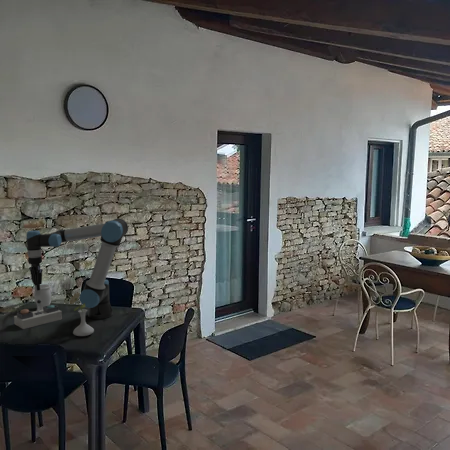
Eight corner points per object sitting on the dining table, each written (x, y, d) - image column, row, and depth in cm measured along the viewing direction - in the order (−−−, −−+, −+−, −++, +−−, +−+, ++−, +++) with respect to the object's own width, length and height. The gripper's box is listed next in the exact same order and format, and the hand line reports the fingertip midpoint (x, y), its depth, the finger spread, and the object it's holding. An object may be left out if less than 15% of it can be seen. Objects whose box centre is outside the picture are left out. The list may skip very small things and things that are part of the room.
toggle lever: (40, 312, 285) (41, 300, 282) (37, 312, 283) (38, 301, 280) (39, 310, 286) (40, 298, 283) (35, 311, 284) (36, 299, 282)
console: (62, 319, 290) (61, 307, 289) (23, 329, 273) (22, 316, 272) (52, 314, 298) (52, 303, 297) (14, 324, 281) (13, 312, 280)
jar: (46, 311, 305) (44, 288, 303) (31, 310, 307) (30, 288, 305) (55, 306, 315) (54, 284, 313) (41, 305, 317) (40, 283, 315)
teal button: (55, 309, 290) (55, 306, 290) (49, 311, 287) (48, 307, 287) (52, 307, 293) (52, 304, 293) (45, 309, 290) (45, 306, 290)
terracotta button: (30, 313, 279) (30, 310, 279) (22, 315, 276) (22, 312, 275) (26, 311, 282) (26, 308, 282) (19, 313, 279) (19, 310, 278)
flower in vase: (86, 329, 272) (84, 287, 269) (98, 333, 265) (96, 290, 262) (66, 335, 262) (64, 292, 259) (78, 340, 255) (76, 295, 252)
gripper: (23, 256, 282) (27, 294, 285) (33, 259, 273) (36, 298, 276) (36, 254, 287) (39, 291, 290) (46, 257, 278) (48, 295, 281)
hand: (37, 295), depth 283 cm, fingers closed
